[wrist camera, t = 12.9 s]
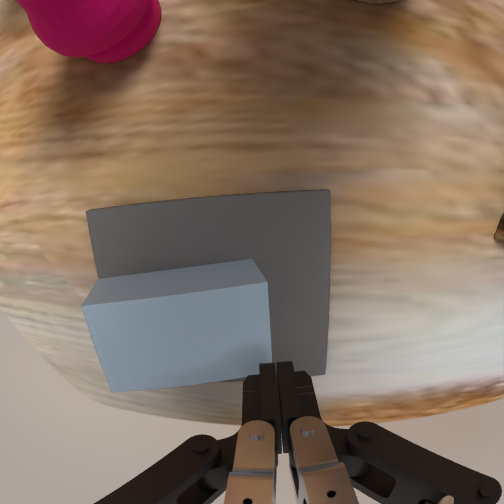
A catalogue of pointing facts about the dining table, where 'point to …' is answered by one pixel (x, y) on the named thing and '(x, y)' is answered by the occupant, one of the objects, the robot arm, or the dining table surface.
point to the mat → (235, 254)
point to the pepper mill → (94, 26)
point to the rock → (500, 230)
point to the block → (180, 325)
